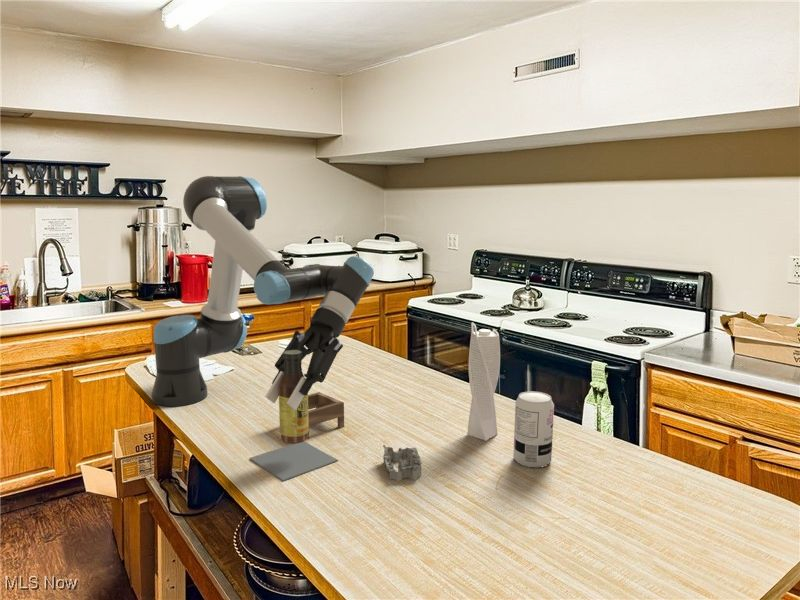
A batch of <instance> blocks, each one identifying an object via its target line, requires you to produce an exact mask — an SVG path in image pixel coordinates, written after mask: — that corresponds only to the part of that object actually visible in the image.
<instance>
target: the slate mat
mask: <svg viewBox="0 0 800 600" xmlns="http://www.w3.org/2000/svg"><path fill="white" fill-rule="evenodd" d="M249 460H250V461H252V462H253V463H255V464H257V465H258V466H259V467H261V468H262V469H264V470H265V471H267V472H269V474H272V475H273V476H274V477H276V478H277V479H279V480H280V481H282V482H285V481H288V480H291V479H294V478H296V477H299V476H302V475H304V474H307V473H309V472H312V471H315V470H318V469H320V468H322V467H326V466H329V465H331V464H334V463H336V462H339V460H338V459H337V458H336V457H333V456H332V455H330V454H328V453H326V452H325V451H322V450H321V449H319V448H317V447H315V446H314V445H312V444H310V443H308V442H306V441H304V442H301V443H296V444H288V445H286V446H285V445H284V446H282V447H279V448H275V449H273V450H270V451H267V452H263V453H261V454H258V455H257V454H256V455H255V456H252V457H249Z"/></svg>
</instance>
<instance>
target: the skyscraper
mask: <svg viewBox="0 0 800 600" xmlns="http://www.w3.org/2000/svg"><path fill="white" fill-rule="evenodd" d="M470 326H471V333H470V341H469V350H468V352H469V353H468V378H469V379H468V380H469V387H470V393H471V394H470V395H471V401H470V409H469V417H468V425H467V432H466V435H467V436H469V437H473V436H474V437H473V438H476V437H477V439H479V438H480V440H482V439H483V441H485V442H487V441H488V440H489V438H490V439H491V438H493V437H494V436H498V425H497V413H496V405H495V403H496V402H495V398H494V395H495V393H496V388H497V385H498V381H499V376H500V370H501V369H500V368H501V343H500V335H499V332H498V331H497V330H496V329H495V328H493V329H492V330H491V329H486V328H481V329H478V328H477V325H476V324H475V323H474V322H473V321H472V322H471V323H470ZM477 329H478V330H477Z"/></svg>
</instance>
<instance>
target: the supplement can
mask: <svg viewBox="0 0 800 600" xmlns="http://www.w3.org/2000/svg"><path fill="white" fill-rule="evenodd" d="M514 404H515V405H514V406H515V408H514V430H513V459H514V460H515V461H516V462H517V463H518V464H519V463H520V464H521V466H522V465H524V466H523V467H526V466H528V467H527V468H530V467H541V468H543V467H542V466H545V465H546V466H548V465H549V464H550V463H551V462H552V454H553V453H552V452H553V434H554V414H555V403H554V402H553V400H552V396H551V395H550V394H548V393H545V392H541V391H533V390H532V391H531V390H529V391H524V392H523V391H522V392H520V393H519V394H518V397H517V399H516V400H515V403H514ZM520 464H519V465H520ZM547 464H548V465H547ZM546 466H545V467H546Z"/></svg>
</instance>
